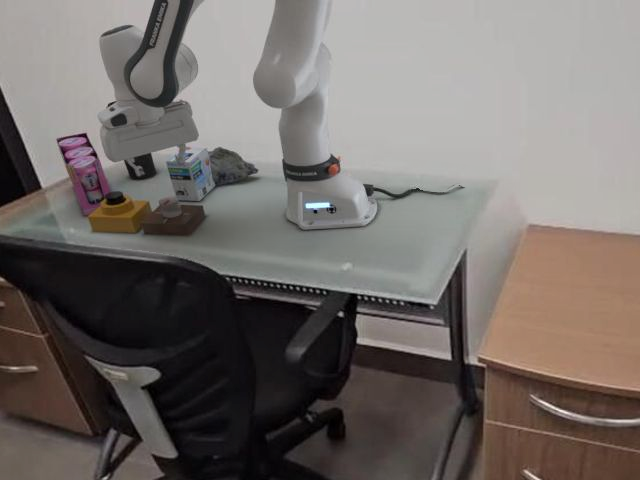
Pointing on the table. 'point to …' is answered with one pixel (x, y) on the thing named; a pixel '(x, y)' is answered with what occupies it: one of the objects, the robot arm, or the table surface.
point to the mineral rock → (229, 166)
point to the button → (115, 198)
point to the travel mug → (140, 163)
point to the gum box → (84, 171)
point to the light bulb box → (191, 174)
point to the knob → (170, 207)
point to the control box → (120, 216)
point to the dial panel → (174, 221)
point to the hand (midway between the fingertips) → (161, 169)
